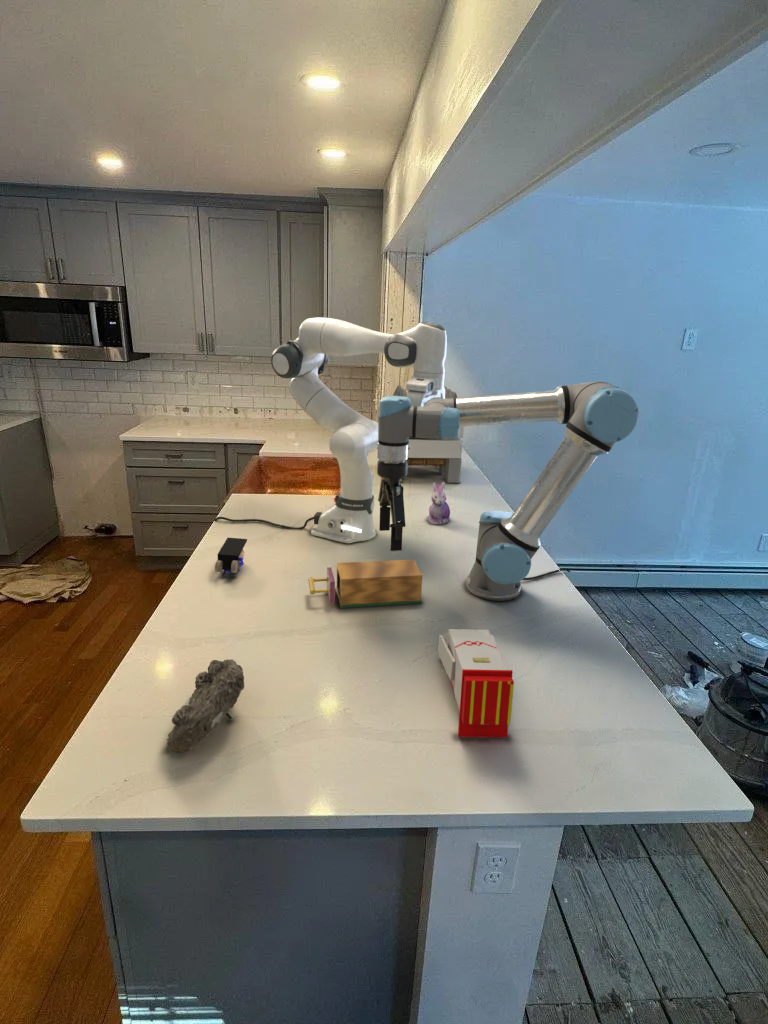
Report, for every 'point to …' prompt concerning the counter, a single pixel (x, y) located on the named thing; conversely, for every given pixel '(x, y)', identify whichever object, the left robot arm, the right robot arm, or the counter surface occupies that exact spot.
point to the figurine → (439, 506)
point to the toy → (478, 682)
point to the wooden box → (379, 583)
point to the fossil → (206, 705)
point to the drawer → (330, 585)
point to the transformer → (436, 449)
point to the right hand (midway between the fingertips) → (390, 539)
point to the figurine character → (230, 556)
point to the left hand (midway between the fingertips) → (424, 429)
